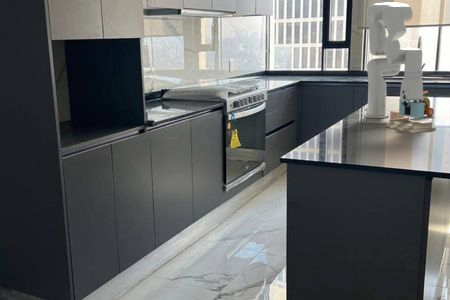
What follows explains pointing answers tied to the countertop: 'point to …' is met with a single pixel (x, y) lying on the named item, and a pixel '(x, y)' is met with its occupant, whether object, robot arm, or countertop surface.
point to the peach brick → (395, 115)
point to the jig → (410, 125)
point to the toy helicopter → (427, 106)
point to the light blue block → (413, 109)
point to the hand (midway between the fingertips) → (411, 114)
